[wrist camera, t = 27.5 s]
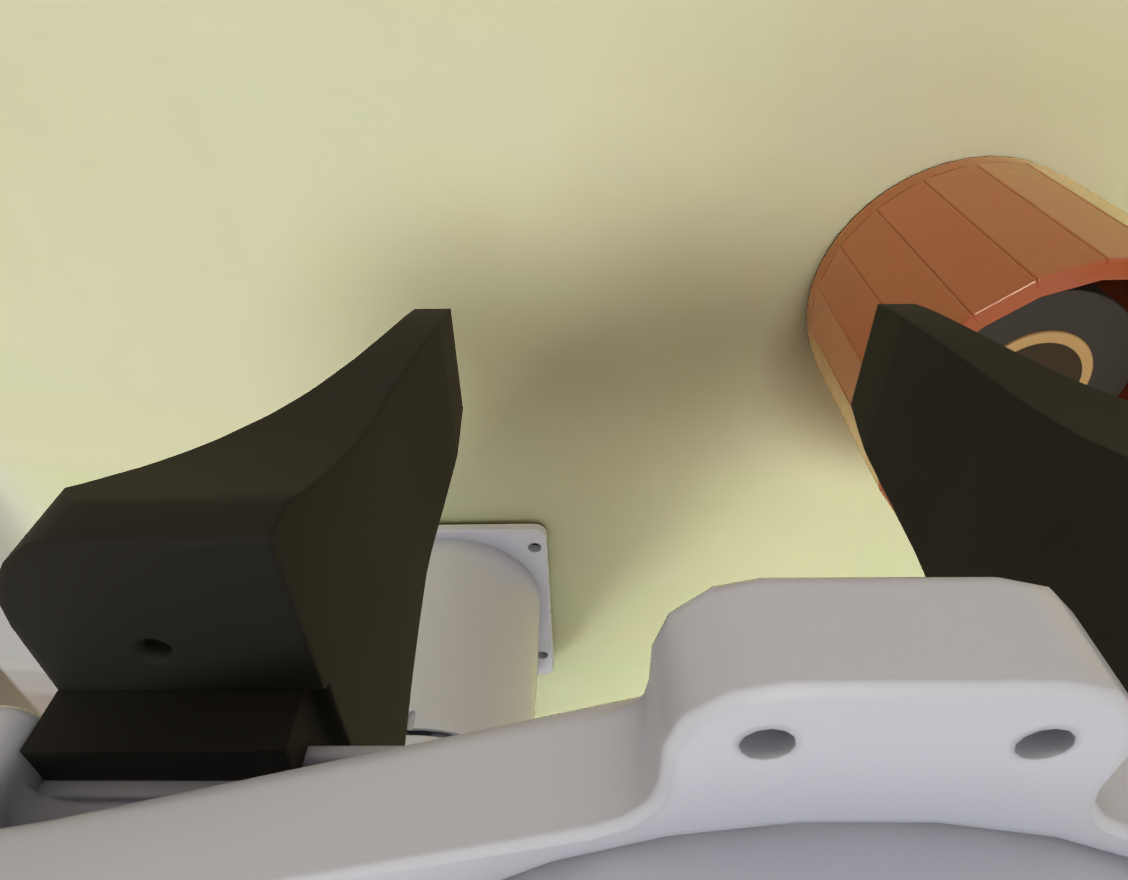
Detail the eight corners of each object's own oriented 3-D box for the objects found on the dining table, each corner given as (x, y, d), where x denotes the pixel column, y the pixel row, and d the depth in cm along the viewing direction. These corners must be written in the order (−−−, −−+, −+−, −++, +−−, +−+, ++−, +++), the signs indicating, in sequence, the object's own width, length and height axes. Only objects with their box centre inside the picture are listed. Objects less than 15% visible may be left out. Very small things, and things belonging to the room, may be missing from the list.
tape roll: (1015, 373, 24) (1092, 459, 21) (856, 375, 24) (905, 461, 21) (1078, 219, 21) (1182, 290, 18) (895, 223, 21) (961, 294, 18)
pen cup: (1033, 404, 26) (1160, 550, 20) (786, 408, 26) (844, 553, 20) (1145, 151, 21) (1357, 253, 15) (834, 159, 21) (930, 262, 15)
